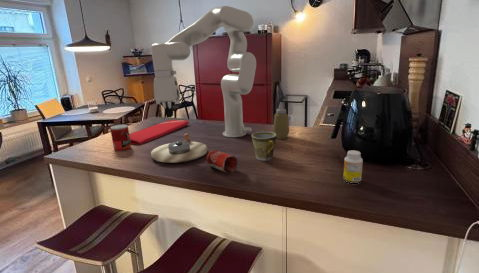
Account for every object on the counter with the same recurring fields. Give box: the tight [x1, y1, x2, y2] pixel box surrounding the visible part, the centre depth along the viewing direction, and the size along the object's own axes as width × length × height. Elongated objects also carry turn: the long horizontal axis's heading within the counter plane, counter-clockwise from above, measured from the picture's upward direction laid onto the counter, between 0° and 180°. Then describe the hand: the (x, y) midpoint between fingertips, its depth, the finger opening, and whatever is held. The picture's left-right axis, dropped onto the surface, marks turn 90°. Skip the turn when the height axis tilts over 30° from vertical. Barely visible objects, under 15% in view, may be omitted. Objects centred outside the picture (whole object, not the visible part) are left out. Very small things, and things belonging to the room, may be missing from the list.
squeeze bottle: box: [272, 101, 290, 140], centre depth 142 cm, size 8×8×18 cm
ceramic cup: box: [251, 131, 277, 162], centre depth 116 cm, size 13×10×10 cm
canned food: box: [110, 124, 132, 152], centre depth 137 cm, size 8×8×11 cm
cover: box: [168, 140, 190, 154], centre depth 123 cm, size 9×9×4 cm
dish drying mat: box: [129, 119, 190, 146], centre depth 163 cm, size 16×41×4 cm, turn 152°
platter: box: [150, 133, 208, 164], centre depth 125 cm, size 24×24×5 cm
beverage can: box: [205, 149, 239, 174], centre depth 109 cm, size 7×12×7 cm, turn 43°
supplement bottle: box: [342, 149, 364, 184], centre depth 94 cm, size 6×6×10 cm
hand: (169, 116), depth 126 cm, fingers closed
